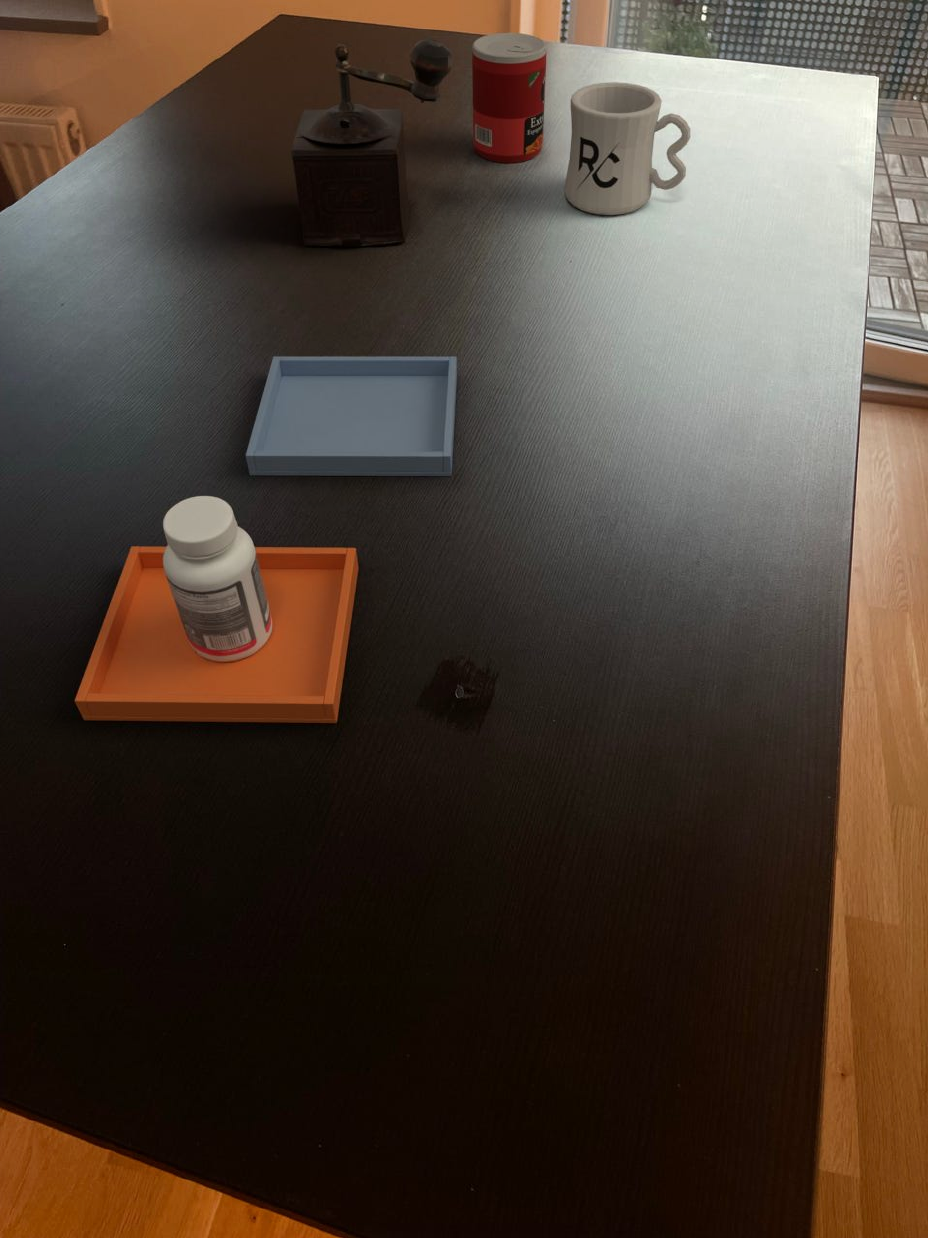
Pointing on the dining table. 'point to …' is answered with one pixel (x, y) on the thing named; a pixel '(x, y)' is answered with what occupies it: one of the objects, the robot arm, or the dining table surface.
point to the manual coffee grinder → (360, 157)
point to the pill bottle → (215, 580)
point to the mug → (618, 148)
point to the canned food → (508, 96)
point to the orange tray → (236, 690)
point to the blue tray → (355, 417)
